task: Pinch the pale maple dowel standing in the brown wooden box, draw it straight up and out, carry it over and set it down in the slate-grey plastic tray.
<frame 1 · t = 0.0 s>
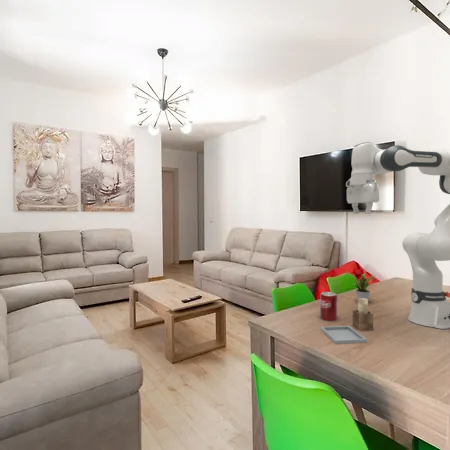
hand: (361, 213, 136), 48 cm above the table, tool pointing down, fingers open, 8 cm apart
brown wooden box: (362, 329, 132), on the table
house plant: (364, 303, 170), on the table
dowel: (362, 327, 132), point 1 cm above the table, touching brown wooden box
soda can: (328, 320, 145), on the table
tray: (342, 337, 124), on the table
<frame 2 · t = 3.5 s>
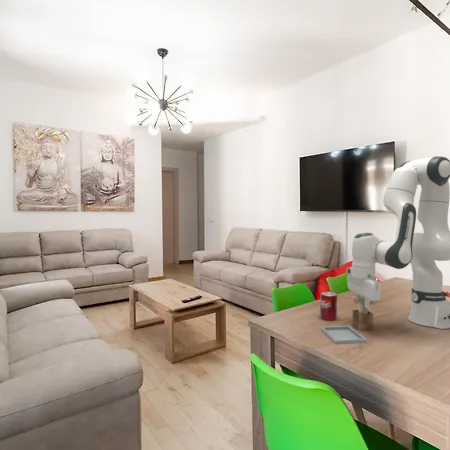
hand: (362, 305, 132), 10 cm above the table, tool pointing down, fingers closed on dowel, 4 cm apart
dowel: (362, 327, 132), point 1 cm above the table, touching brown wooden box, gripper
everything else where it was.
when the fingers open (11 cm above the table, at t = 9.6 s): dowel stays where it is, resting on tray.
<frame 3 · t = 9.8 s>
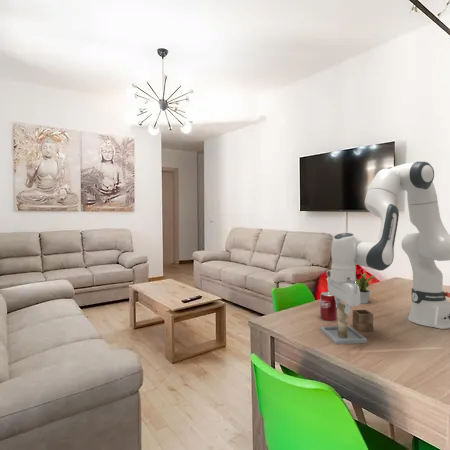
hand: (342, 310, 124), 11 cm above the table, tool pointing down, fingers open, 5 cm apart
dowel: (342, 335, 124), point 1 cm above the table, touching tray
everything else where it was.
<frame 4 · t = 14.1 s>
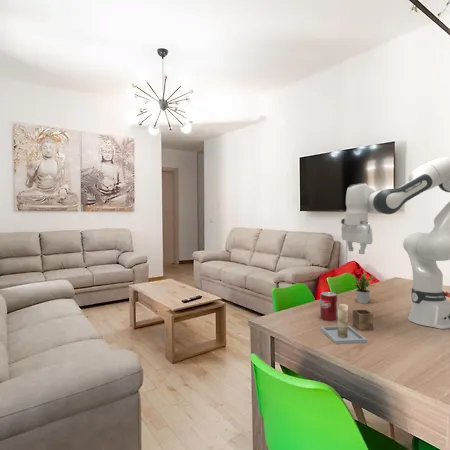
hand: (356, 252, 139), 31 cm above the table, tool pointing down, fingers open, 8 cm apart
nothing on the table moved.
at the end: dowel inside the target area on the tray (0.0 cm from its centre), point 0.8 cm above the tray's base; the gripper is holding nothing; dowel touching tray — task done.
